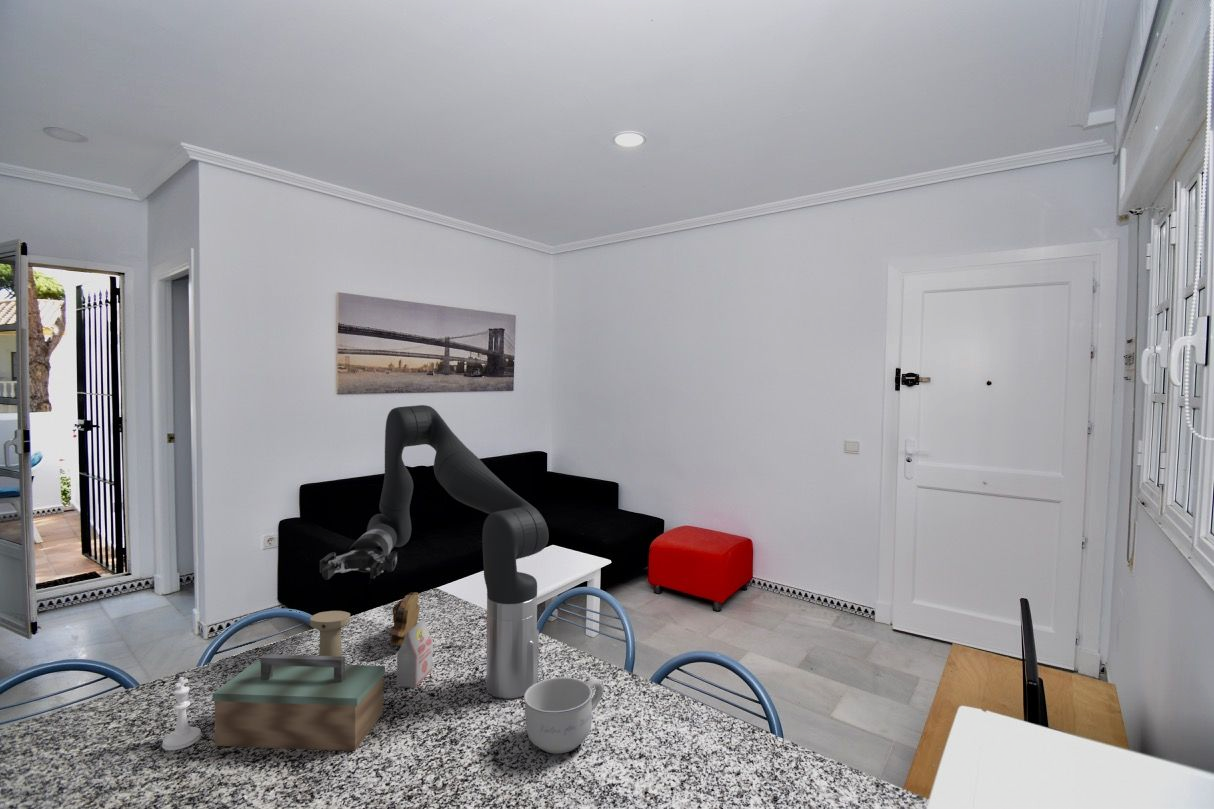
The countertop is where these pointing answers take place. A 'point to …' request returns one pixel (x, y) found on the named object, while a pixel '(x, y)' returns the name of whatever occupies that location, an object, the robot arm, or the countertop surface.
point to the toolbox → (299, 704)
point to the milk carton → (414, 656)
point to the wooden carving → (404, 618)
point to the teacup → (560, 712)
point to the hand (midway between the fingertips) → (349, 574)
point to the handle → (330, 631)
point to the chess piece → (181, 722)
